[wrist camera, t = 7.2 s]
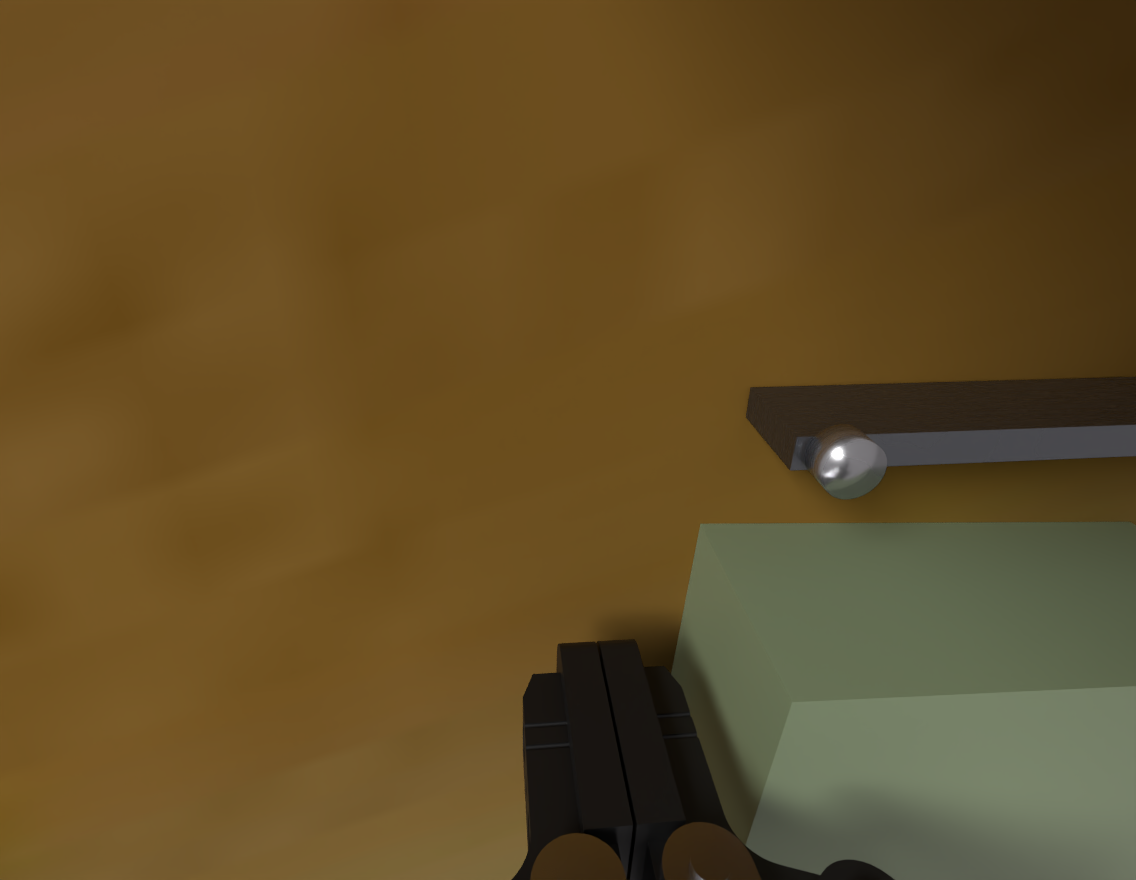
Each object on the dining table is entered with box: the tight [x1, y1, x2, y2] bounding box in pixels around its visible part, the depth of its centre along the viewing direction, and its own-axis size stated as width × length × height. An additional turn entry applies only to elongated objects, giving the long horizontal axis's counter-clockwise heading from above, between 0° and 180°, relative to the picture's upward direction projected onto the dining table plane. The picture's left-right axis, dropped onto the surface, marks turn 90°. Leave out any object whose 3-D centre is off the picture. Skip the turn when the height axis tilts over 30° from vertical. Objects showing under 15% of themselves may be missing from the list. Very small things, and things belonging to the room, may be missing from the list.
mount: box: [746, 377, 1136, 499], centre depth 14 cm, size 11×14×3 cm
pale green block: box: [671, 522, 1136, 880], centre depth 13 cm, size 6×10×5 cm, turn 86°
